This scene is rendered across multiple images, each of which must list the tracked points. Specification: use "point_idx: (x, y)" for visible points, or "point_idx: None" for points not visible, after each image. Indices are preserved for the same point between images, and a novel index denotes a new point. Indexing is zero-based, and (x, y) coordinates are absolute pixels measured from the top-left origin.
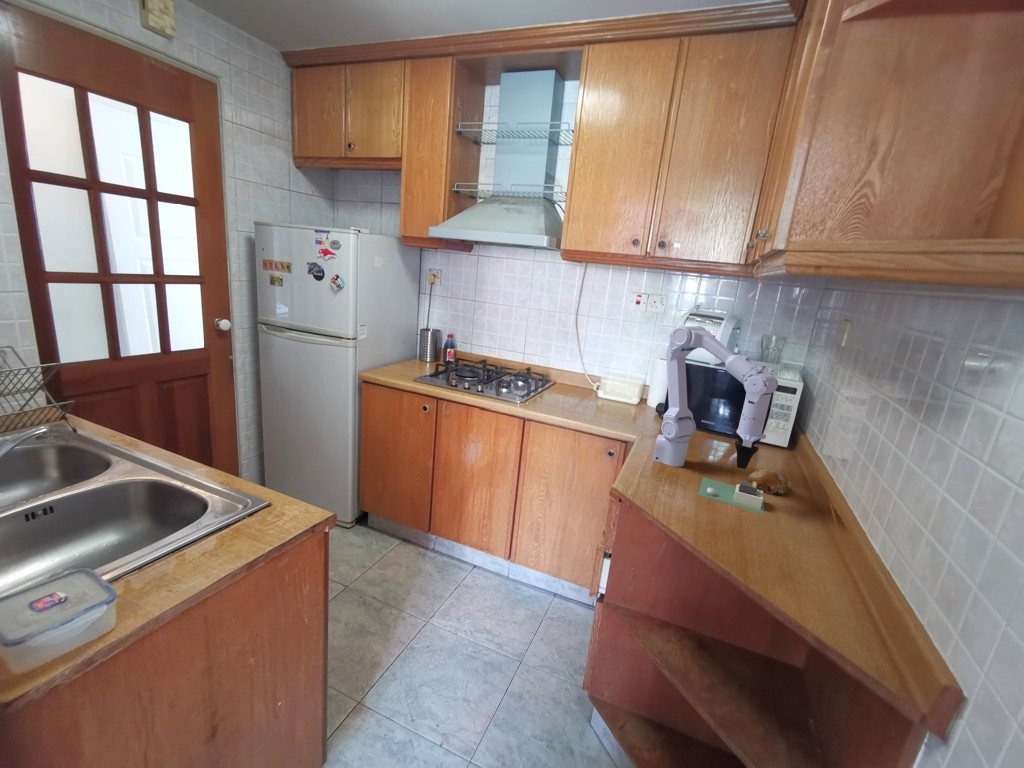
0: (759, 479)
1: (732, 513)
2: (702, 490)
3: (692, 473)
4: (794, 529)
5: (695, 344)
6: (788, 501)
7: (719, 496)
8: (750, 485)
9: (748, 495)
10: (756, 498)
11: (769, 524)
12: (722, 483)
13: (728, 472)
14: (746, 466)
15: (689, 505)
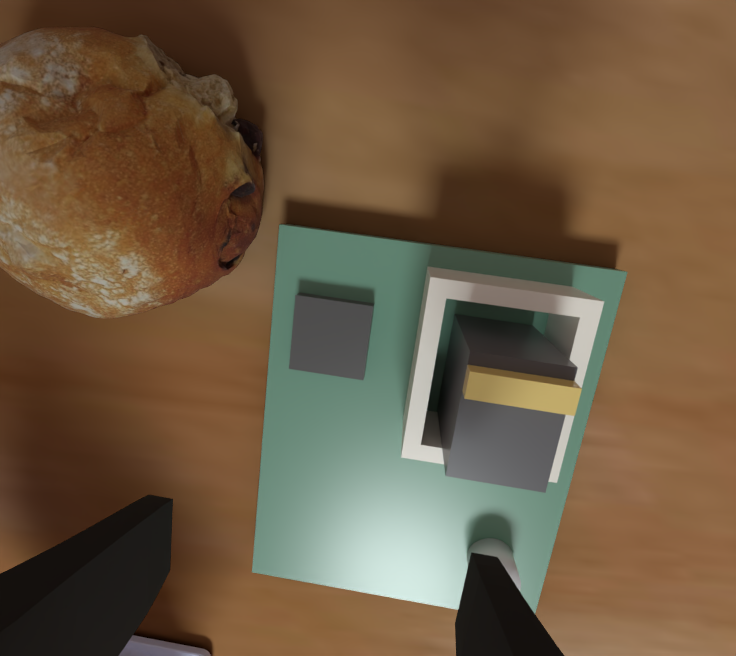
0: (175, 266)
1: (647, 442)
2: (458, 593)
3: (190, 598)
4: (718, 77)
5: None
6: (250, 43)
7: (496, 512)
8: (534, 417)
9: None
10: (591, 343)
11: (709, 240)
12: (273, 473)
13: (17, 398)
14: (513, 584)
15: (648, 646)
